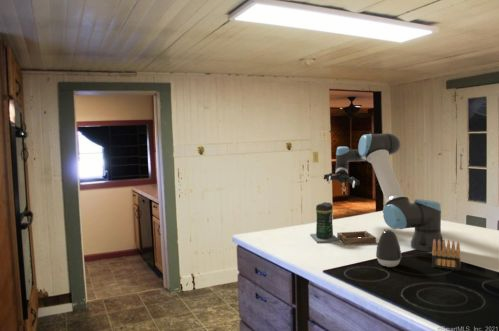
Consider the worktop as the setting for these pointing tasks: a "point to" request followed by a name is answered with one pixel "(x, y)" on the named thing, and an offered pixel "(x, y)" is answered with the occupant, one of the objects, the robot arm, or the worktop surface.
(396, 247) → the grey egg shaped container
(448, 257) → the ammunition clip
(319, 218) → the coffee jar
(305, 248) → the worktop surface
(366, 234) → the walnut collar
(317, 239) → the slate mat
